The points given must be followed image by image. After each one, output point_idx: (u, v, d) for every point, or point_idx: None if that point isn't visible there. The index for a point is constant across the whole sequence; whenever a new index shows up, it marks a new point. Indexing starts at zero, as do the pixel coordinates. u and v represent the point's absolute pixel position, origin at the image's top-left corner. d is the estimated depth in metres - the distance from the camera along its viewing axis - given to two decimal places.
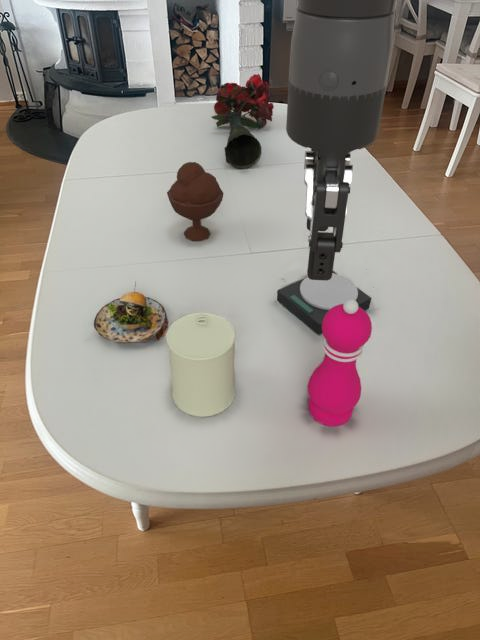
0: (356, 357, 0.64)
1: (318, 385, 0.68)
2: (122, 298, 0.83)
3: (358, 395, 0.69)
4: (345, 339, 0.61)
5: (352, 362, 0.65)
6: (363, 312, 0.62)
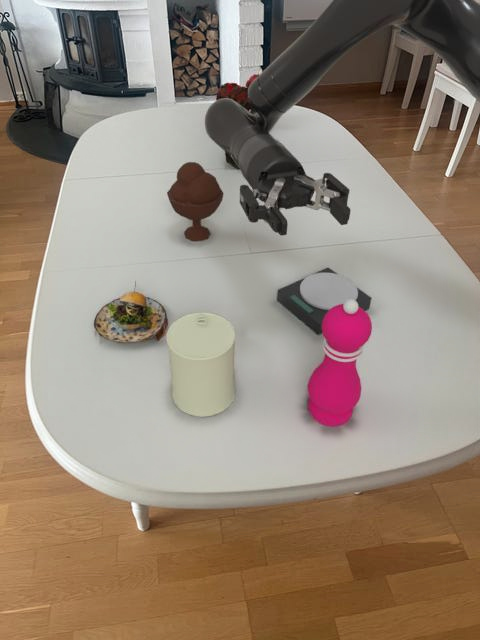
0: (356, 357, 0.64)
1: (318, 385, 0.68)
2: (122, 298, 0.83)
3: (358, 395, 0.69)
4: (345, 339, 0.61)
5: (352, 362, 0.65)
6: (363, 312, 0.62)
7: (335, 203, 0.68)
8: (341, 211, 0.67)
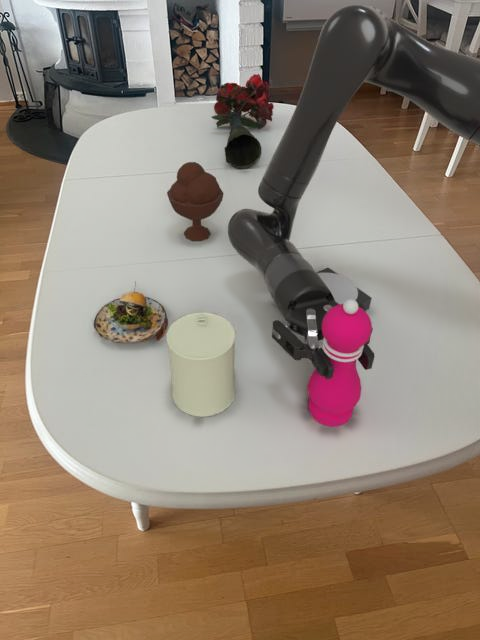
0: (356, 357, 0.64)
1: (318, 385, 0.68)
2: (122, 298, 0.83)
3: (358, 395, 0.69)
4: (345, 339, 0.61)
5: (352, 362, 0.65)
6: (363, 312, 0.62)
7: None
8: (365, 357, 0.66)
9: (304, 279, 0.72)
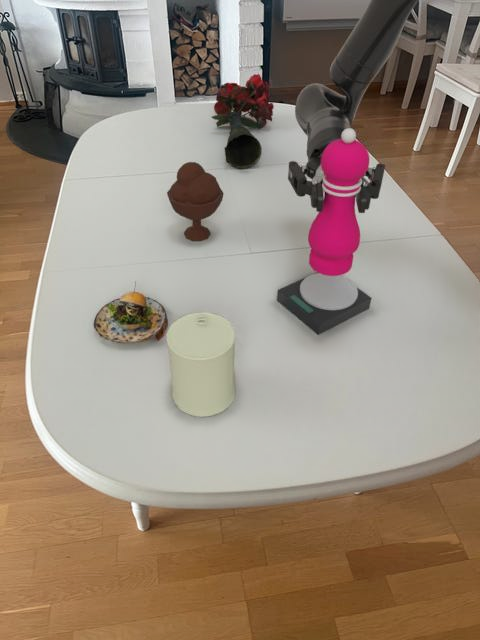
0: (348, 194, 0.66)
1: (314, 225, 0.71)
2: (122, 298, 0.83)
3: (351, 243, 0.70)
4: (335, 165, 0.63)
5: (346, 201, 0.67)
6: (361, 146, 0.64)
7: None
8: (360, 199, 0.67)
9: (334, 133, 0.75)
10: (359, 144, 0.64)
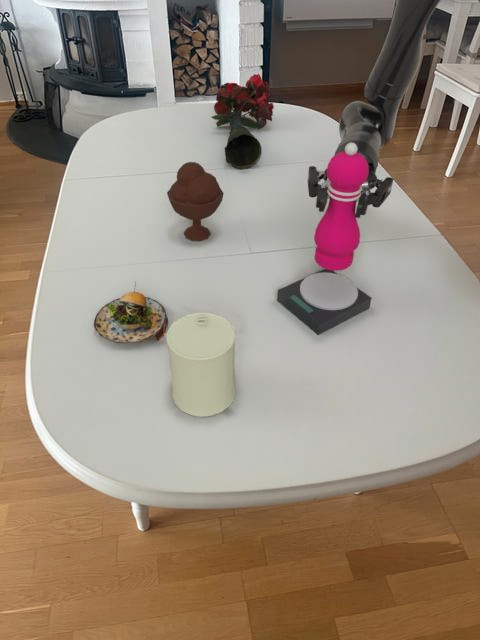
0: (346, 199, 0.76)
1: (319, 223, 0.82)
2: (122, 298, 0.83)
3: (348, 243, 0.80)
4: (335, 173, 0.74)
5: (345, 205, 0.77)
6: (361, 159, 0.73)
7: (359, 198, 0.78)
8: None
9: None
10: (360, 157, 0.73)
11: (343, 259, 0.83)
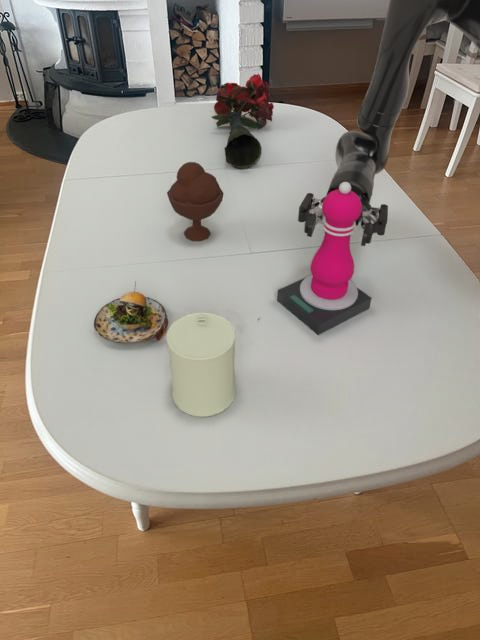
0: (341, 234, 0.80)
1: (315, 255, 0.86)
2: (122, 298, 0.83)
3: (342, 275, 0.84)
4: (329, 210, 0.78)
5: (339, 239, 0.81)
6: (354, 197, 0.78)
7: (364, 227, 0.81)
8: (363, 234, 0.80)
9: (350, 176, 0.88)
10: (353, 195, 0.78)
11: (338, 289, 0.87)
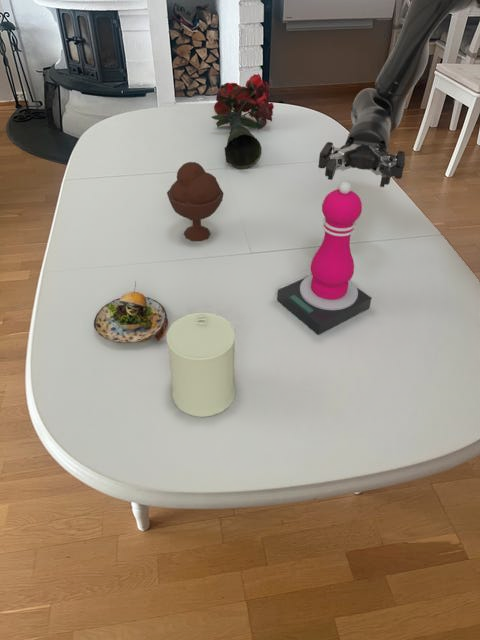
0: (341, 234, 0.80)
1: (315, 255, 0.86)
2: (122, 298, 0.83)
3: (342, 275, 0.84)
4: (329, 210, 0.78)
5: (339, 239, 0.81)
6: (354, 197, 0.78)
7: (383, 169, 0.85)
8: (382, 175, 0.84)
9: (368, 125, 0.92)
10: (353, 195, 0.78)
11: (338, 289, 0.87)
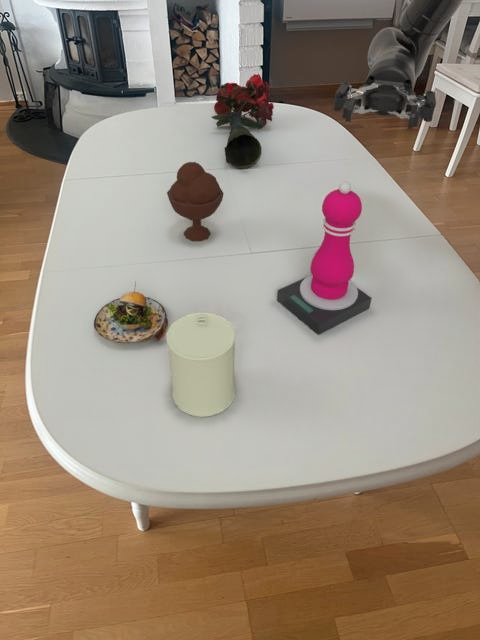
0: (341, 234, 0.80)
1: (315, 255, 0.86)
2: (122, 298, 0.83)
3: (342, 275, 0.84)
4: (329, 210, 0.78)
5: (339, 239, 0.81)
6: (354, 197, 0.78)
7: (411, 109, 0.72)
8: None
9: (391, 62, 0.79)
10: (353, 195, 0.78)
11: (338, 289, 0.87)
